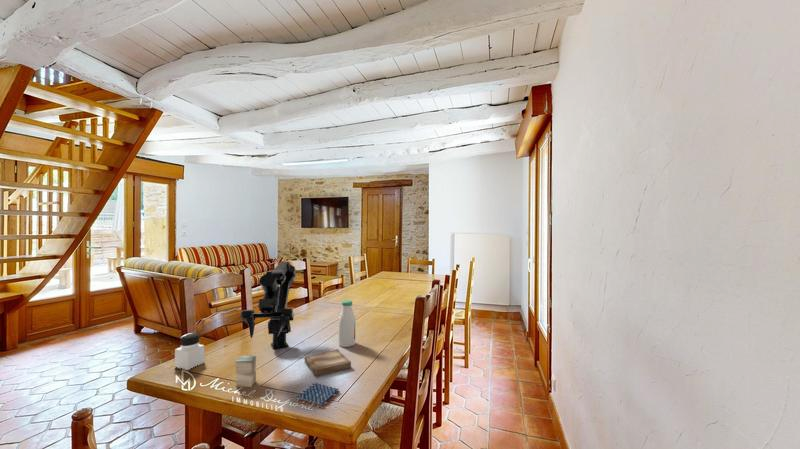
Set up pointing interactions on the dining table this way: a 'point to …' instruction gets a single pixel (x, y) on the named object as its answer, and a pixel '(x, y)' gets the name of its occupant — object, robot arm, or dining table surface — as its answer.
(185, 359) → the medicine bottle
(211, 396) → the dining table surface
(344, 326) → the milk bottle
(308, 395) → the woven mat
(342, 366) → the base
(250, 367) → the beech block
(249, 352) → the dining table surface
